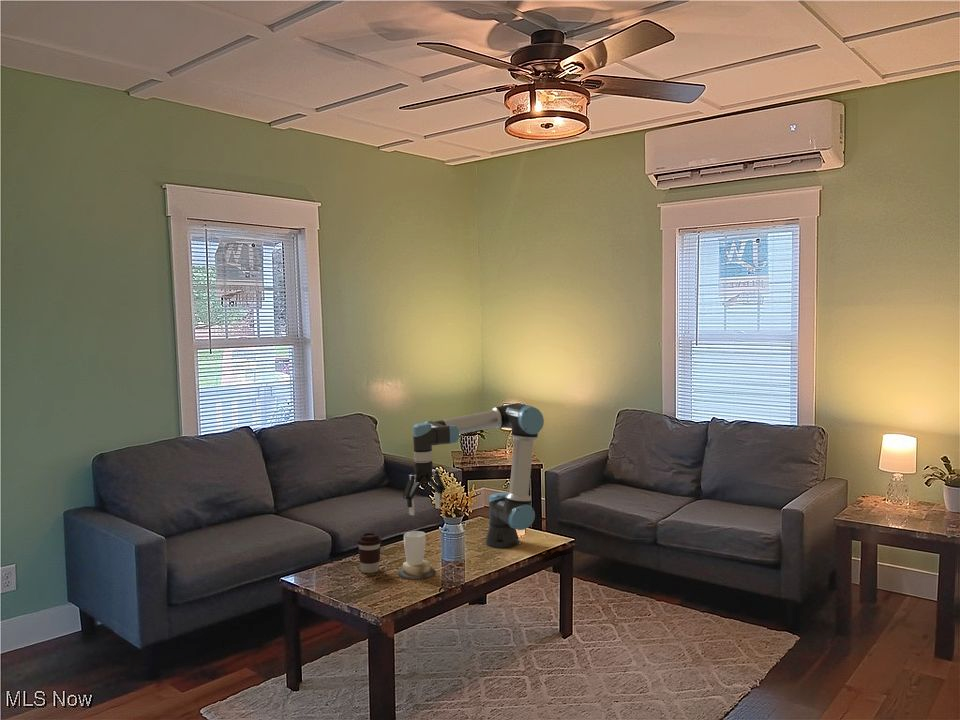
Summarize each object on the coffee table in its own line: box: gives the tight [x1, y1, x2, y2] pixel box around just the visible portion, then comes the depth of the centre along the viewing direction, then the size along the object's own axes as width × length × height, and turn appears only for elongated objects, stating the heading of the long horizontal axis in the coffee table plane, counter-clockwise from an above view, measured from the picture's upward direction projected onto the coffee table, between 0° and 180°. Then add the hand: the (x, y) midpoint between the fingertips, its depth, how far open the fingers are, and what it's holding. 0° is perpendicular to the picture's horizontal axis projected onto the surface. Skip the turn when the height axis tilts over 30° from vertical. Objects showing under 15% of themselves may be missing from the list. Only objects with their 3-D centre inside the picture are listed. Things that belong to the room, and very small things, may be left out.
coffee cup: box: [356, 532, 382, 574], centre depth 324 cm, size 10×10×15 cm
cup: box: [403, 530, 427, 565], centre depth 321 cm, size 9×9×12 cm
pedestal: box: [397, 559, 436, 581], centre depth 320 cm, size 15×15×4 cm
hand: (425, 511), depth 327 cm, fingers open, 13 cm apart
